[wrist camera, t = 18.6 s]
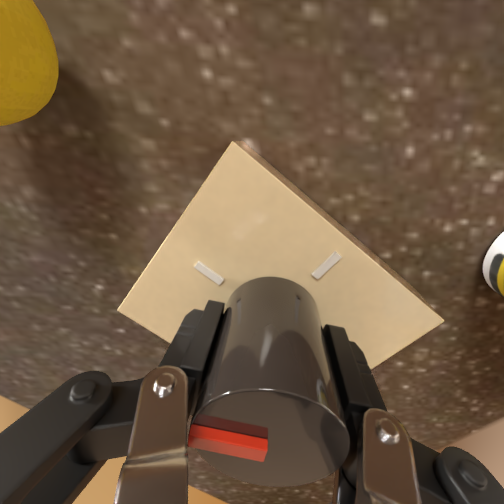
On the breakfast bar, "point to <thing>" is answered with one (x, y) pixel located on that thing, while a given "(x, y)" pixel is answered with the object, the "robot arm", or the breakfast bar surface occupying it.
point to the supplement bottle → (495, 265)
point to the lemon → (25, 61)
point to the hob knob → (270, 391)
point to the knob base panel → (274, 260)
